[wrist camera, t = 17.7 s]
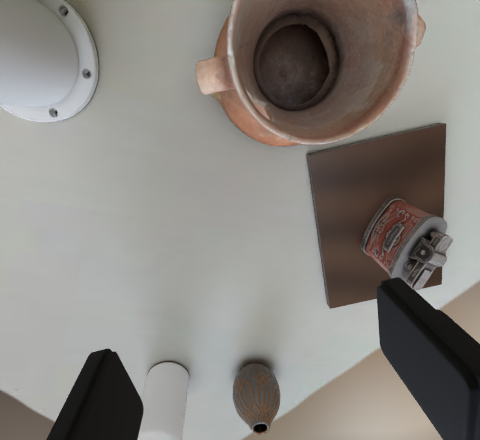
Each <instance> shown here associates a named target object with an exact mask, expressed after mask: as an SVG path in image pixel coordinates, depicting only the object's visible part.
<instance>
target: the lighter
mask: <svg viewBox="0 0 480 440" xmlns="http://www.w3.org/2000/svg"><path fill="white" fill-rule="evenodd" d="M446 229H447V223H446V221H445V220H444V219H442V218H441V217H439V216H436V215H430V214H428V213H426V212H424V211H422V210H420V209H418V208H416V207H414V206H411V205H409V204H407V203H406V202H405V201H404V200H402V199H400V198H398V197H391V198H389V199H387V200H386V201H385V202H384V204H383V205H382V206H381V207H380V209H379V210H378V211H377V213H376V214H375V216H374V217H373V219H372V220H371V222H370V224H369V226H368V228H367V230H366V232H365V234H364V237H363V240H362V242H361V249H362V250H363V251H364V252H365V253H366V254H367V255H369V256H371V257H372V258H373V259H374V260H375V261H376V262H377V263H378V264H379V265H380V266H381V267H382V268H383V269H384V270H385V271H387V272H388V273H389V276H390V277H391V278H396V277H400V278H401V279H402V280H404V281H405V282H406V283H407V284H408V285H409V286H410V287H411V288H412V289H414V290H420V289H422V287H423V286H424V284H425V283H426V281H427V280H428V279H429V277H430V276H431V274H432V272H433V270H434V269H435V268H436V267H441V266H443V265H444V264H445V262H446V260H447V257H446V252H447V250H448V249H449V247H450V246H451V244H452V243H453V238H451V237H450V236H448V235H446V234H445V232H446Z"/></svg>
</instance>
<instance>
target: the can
mask: <svg viewBox="0 0 480 440" xmlns="http://www.w3.org/2000/svg"><path fill="white" fill-rule="evenodd" d="M188 386H189V374H188V372H187V371H186V370H185V368H184V367H182V366H181V365H179V364H177V363H174V362H163V363H160V364H157V365H156V366H154V367H153V368H152V369H151V370H150V371H149V373H148V375H147V378H146V382H145V385H144V388H143V392H142V395H141V400H142V402H143V407H144V412H143V418H142V422H141V426H140V431H139V435H138V439H137V440H182V434H183V427H184V419H185V411H186V403H187V395H188Z"/></svg>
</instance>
